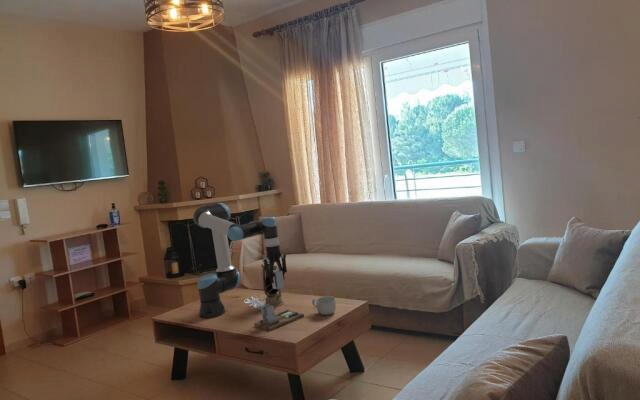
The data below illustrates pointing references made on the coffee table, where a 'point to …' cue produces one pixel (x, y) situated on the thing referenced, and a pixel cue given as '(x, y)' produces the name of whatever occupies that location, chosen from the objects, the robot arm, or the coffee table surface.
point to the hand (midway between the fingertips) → (278, 287)
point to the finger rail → (276, 318)
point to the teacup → (325, 305)
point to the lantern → (271, 290)
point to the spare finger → (278, 279)
